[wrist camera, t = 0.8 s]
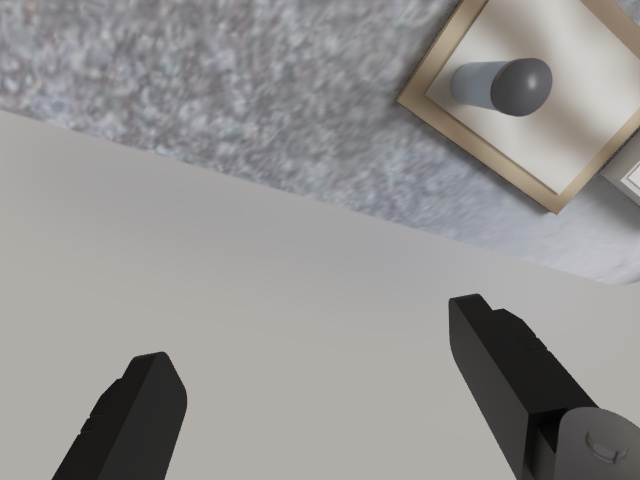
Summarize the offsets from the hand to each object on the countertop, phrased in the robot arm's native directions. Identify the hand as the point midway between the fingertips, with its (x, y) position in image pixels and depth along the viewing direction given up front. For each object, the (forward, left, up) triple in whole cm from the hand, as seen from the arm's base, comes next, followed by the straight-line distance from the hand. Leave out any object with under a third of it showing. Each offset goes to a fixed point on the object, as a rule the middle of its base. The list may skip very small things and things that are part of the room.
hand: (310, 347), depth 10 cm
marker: (-12, +8, -22) cm, 26 cm away
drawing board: (-15, +14, -23) cm, 31 cm away
